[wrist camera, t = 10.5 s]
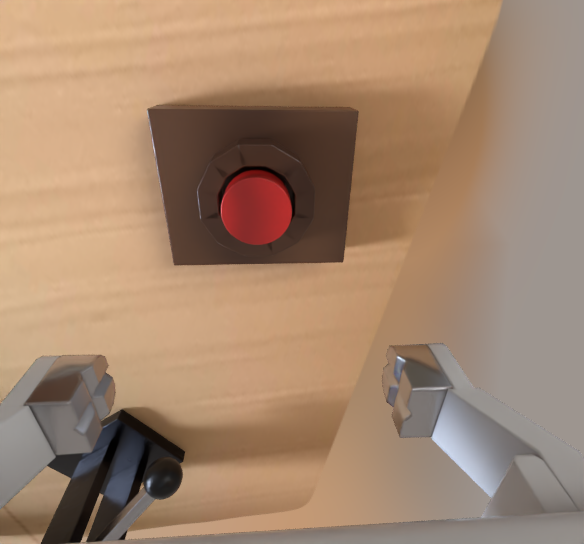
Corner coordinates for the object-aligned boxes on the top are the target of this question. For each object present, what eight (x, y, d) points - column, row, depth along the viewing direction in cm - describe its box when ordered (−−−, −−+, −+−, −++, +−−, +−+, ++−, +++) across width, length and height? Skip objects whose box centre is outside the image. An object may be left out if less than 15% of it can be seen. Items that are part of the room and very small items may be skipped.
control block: (350, 107, 22) (366, 114, 19) (338, 249, 27) (348, 275, 24) (156, 105, 21) (136, 112, 18) (180, 251, 26) (167, 279, 23)
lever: (161, 443, 32) (167, 466, 29) (186, 459, 33) (193, 483, 30) (39, 571, 29) (33, 611, 26) (72, 583, 30) (69, 622, 27)
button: (290, 169, 20) (292, 177, 19) (289, 232, 22) (291, 244, 21) (220, 169, 20) (217, 177, 19) (226, 233, 22) (223, 245, 21)
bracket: (121, 408, 34) (54, 569, 23) (185, 451, 39) (153, 605, 27) (47, 452, 37) (-45, 615, 26) (114, 488, 41) (59, 642, 30)
